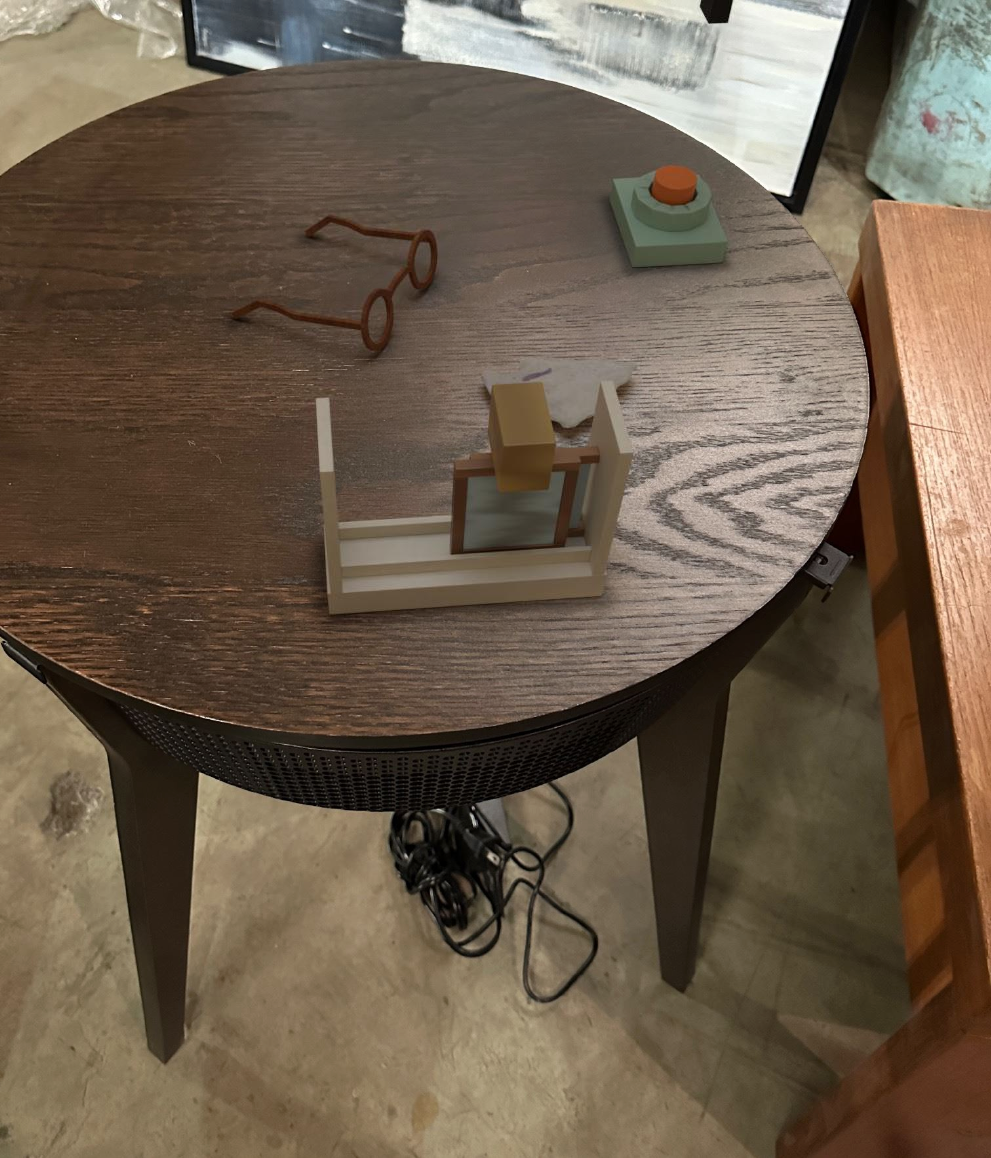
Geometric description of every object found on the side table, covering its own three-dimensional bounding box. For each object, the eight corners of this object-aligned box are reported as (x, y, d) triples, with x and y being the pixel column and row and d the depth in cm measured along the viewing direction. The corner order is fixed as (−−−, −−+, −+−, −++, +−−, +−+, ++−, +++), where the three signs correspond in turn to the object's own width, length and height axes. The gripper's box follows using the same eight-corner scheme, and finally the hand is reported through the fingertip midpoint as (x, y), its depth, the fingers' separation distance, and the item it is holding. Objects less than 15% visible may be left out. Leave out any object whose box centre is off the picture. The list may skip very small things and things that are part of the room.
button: (687, 181, 97) (691, 163, 95) (697, 206, 95) (701, 188, 93) (647, 183, 97) (650, 165, 95) (656, 208, 95) (660, 190, 93)
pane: (557, 518, 75) (581, 378, 65) (569, 577, 72) (597, 440, 62) (445, 525, 74) (452, 386, 64) (454, 584, 72) (462, 448, 61)
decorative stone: (475, 390, 88) (473, 364, 85) (610, 338, 89) (612, 311, 86) (519, 464, 83) (519, 439, 81) (661, 409, 84) (664, 382, 82)
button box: (694, 195, 102) (704, 155, 99) (722, 262, 96) (733, 223, 93) (609, 199, 101) (615, 160, 98) (631, 267, 95) (639, 228, 92)
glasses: (372, 365, 88) (370, 316, 84) (231, 318, 91) (223, 268, 87) (440, 271, 95) (442, 222, 91) (308, 231, 99) (303, 182, 95)
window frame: (585, 527, 78) (616, 379, 67) (602, 596, 74) (637, 452, 63) (325, 544, 77) (312, 397, 66) (329, 614, 73) (316, 472, 62)
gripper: (889, -415, 67) (783, -13, 86) (678, -409, 66) (618, -6, 85) (936, -382, 62) (813, 35, 81) (709, -376, 62) (639, 43, 81)
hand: (713, 14), depth 83 cm, fingers closed
